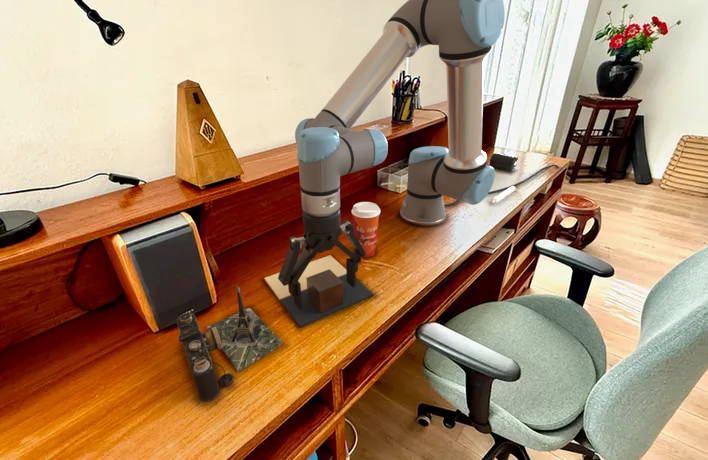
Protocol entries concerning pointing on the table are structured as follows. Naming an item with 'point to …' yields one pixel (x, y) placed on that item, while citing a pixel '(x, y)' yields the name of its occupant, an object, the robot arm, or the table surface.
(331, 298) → the walnut block
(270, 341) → the eiffel tower figurine
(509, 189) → the marker
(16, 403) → the table surface
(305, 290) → the sorting mat
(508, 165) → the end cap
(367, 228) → the paper cup
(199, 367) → the camera
